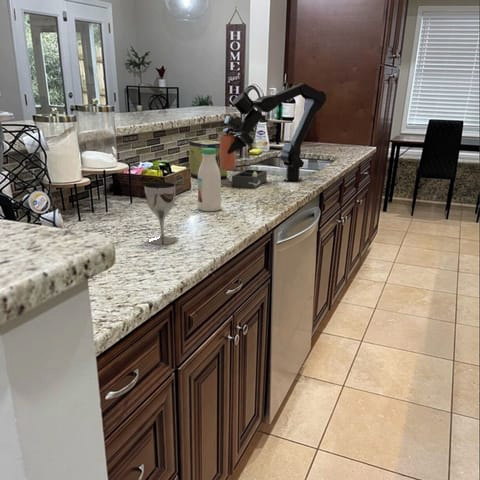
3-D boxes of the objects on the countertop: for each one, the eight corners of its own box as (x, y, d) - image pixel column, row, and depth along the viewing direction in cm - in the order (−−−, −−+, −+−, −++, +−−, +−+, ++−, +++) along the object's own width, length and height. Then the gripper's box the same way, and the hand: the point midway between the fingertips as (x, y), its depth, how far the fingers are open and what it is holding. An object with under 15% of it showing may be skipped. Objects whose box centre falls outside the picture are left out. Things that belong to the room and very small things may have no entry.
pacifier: (241, 187, 207) (255, 188, 205) (241, 172, 204) (255, 172, 202) (248, 184, 213) (261, 185, 211) (248, 169, 211) (261, 170, 208)
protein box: (208, 181, 219) (208, 144, 213) (189, 176, 230) (188, 141, 224) (227, 179, 225) (227, 142, 219) (208, 174, 236) (207, 139, 230)
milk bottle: (224, 207, 174) (224, 147, 166) (215, 212, 167) (215, 150, 159) (203, 205, 176) (202, 146, 168) (194, 210, 169) (193, 149, 161)
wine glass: (149, 236, 140) (145, 182, 134) (177, 236, 141) (175, 182, 135) (146, 245, 133) (143, 188, 127) (176, 244, 134) (174, 188, 128)
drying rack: (231, 186, 208) (231, 175, 207) (246, 179, 224) (246, 169, 222) (253, 188, 205) (253, 177, 204) (266, 181, 221) (266, 170, 219)
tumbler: (223, 166, 212) (222, 134, 207) (237, 167, 211) (237, 135, 205) (218, 169, 207) (217, 136, 202) (232, 169, 205) (232, 136, 200)
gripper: (227, 107, 209) (203, 136, 209) (246, 109, 193) (220, 140, 193) (244, 126, 215) (220, 154, 215) (264, 130, 199) (239, 160, 200)
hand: (224, 152), depth 206 cm, fingers closed on tumbler, 6 cm apart
